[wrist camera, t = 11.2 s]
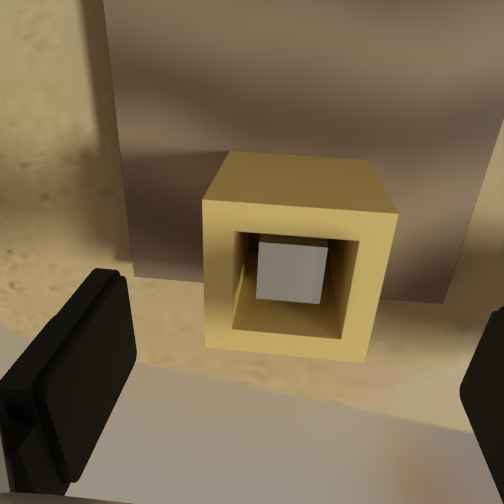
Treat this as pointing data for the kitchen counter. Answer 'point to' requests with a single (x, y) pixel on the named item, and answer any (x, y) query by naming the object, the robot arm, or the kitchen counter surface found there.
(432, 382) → the kitchen counter surface
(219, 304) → the collar
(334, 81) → the post board
